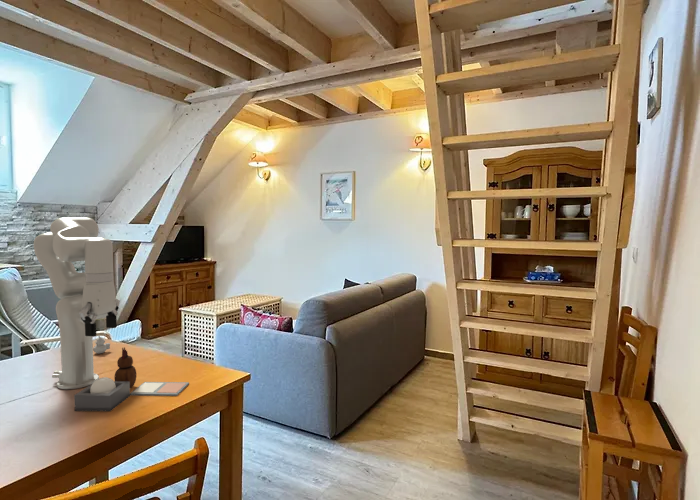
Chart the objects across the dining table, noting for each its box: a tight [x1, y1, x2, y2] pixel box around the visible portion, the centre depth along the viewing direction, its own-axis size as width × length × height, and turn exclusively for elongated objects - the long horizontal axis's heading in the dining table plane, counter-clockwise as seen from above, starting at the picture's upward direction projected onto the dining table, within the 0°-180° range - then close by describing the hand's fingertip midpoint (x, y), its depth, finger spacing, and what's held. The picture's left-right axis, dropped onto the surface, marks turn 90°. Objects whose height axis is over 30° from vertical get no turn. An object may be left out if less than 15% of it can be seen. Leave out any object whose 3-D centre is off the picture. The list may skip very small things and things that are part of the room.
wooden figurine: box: [114, 347, 137, 389], centre depth 142 cm, size 7×6×15 cm
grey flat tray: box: [130, 381, 190, 397], centre depth 141 cm, size 16×10×1 cm, turn 89°
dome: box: [90, 376, 116, 393], centre depth 130 cm, size 7×7×7 cm
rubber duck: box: [93, 335, 111, 355], centre depth 179 cm, size 5×7×8 cm
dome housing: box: [73, 380, 131, 412], centre depth 130 cm, size 11×11×5 cm
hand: (101, 331), depth 129 cm, fingers open, 9 cm apart
